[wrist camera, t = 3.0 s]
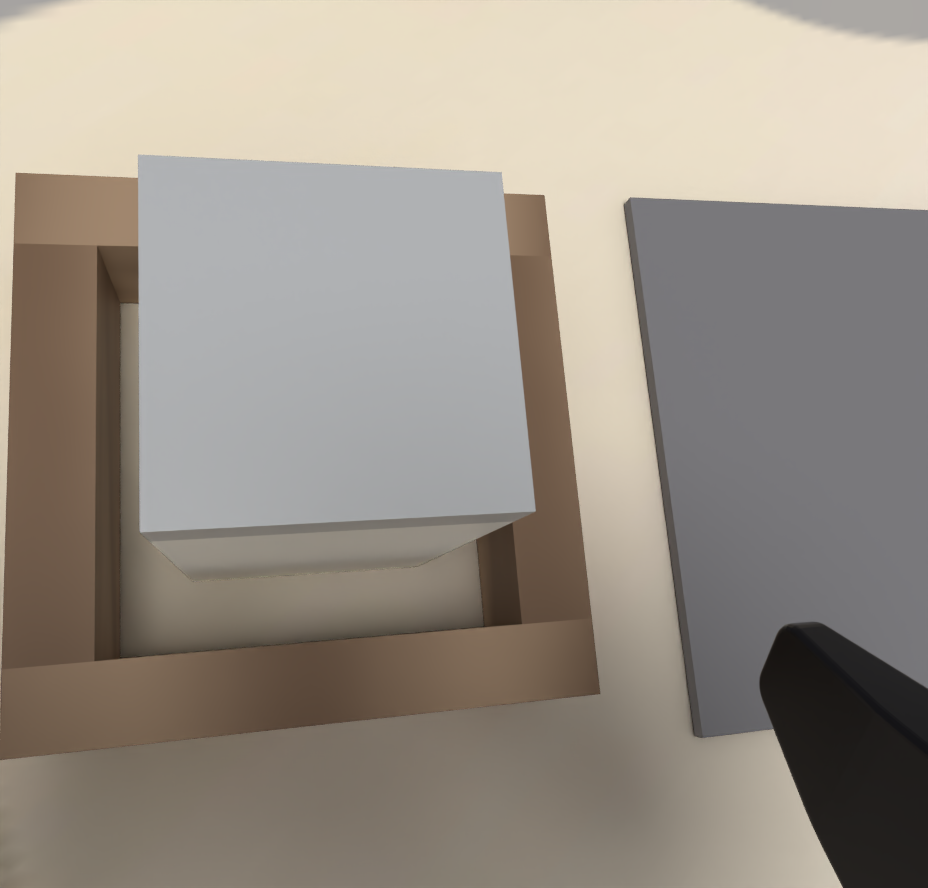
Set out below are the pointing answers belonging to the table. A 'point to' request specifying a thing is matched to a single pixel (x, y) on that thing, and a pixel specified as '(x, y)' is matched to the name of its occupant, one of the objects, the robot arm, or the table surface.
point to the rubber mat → (787, 431)
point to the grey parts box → (324, 366)
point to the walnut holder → (98, 526)
